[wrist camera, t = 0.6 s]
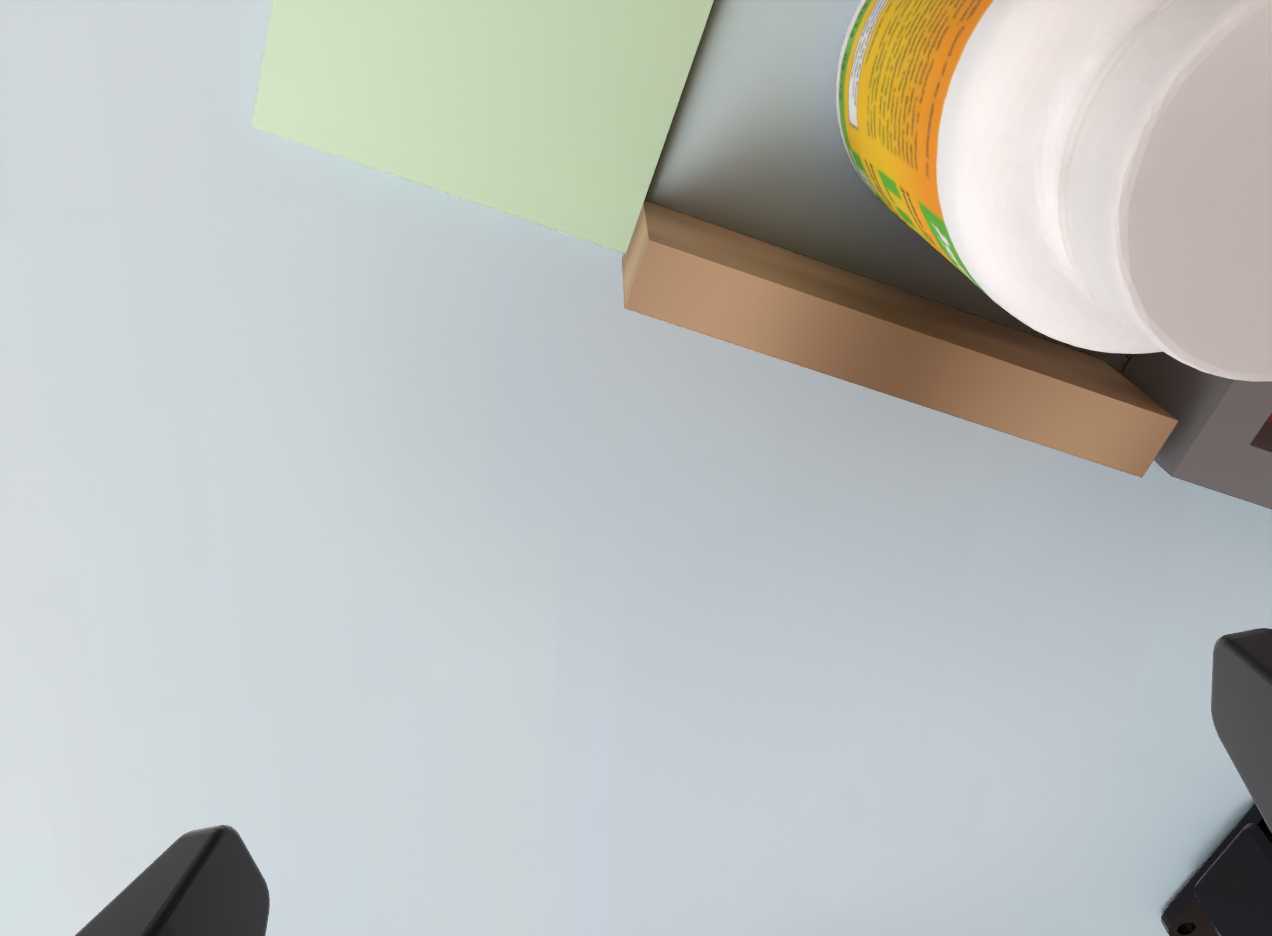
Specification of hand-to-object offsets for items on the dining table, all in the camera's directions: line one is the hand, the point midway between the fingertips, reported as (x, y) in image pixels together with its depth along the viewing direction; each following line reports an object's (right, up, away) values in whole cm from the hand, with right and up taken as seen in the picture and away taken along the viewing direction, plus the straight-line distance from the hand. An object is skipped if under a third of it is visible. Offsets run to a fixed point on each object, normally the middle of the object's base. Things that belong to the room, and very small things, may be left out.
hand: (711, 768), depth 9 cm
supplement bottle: (+5, +10, +9) cm, 14 cm away
